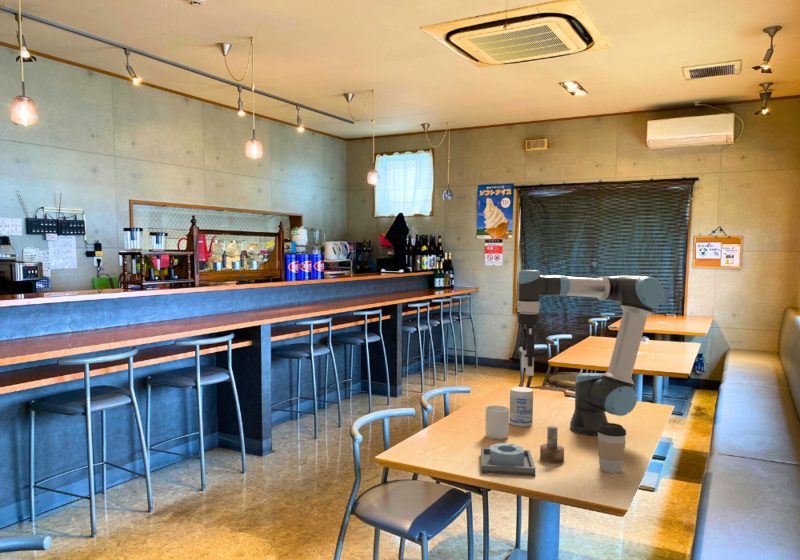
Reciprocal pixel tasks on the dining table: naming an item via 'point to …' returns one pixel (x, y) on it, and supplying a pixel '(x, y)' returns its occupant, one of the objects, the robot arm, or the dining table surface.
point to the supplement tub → (521, 406)
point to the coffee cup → (611, 447)
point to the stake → (552, 447)
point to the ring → (506, 454)
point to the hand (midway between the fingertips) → (527, 371)
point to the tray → (526, 469)
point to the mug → (497, 422)
